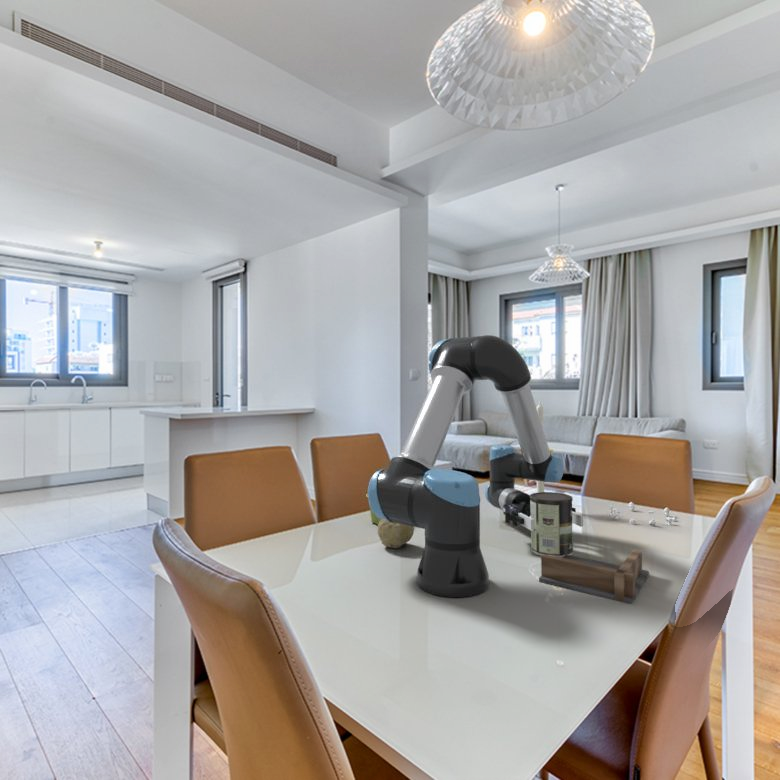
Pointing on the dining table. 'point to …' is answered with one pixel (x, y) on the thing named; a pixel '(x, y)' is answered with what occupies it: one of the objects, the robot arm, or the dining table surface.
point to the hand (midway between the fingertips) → (557, 523)
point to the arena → (596, 575)
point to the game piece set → (649, 511)
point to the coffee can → (551, 524)
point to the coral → (394, 533)
